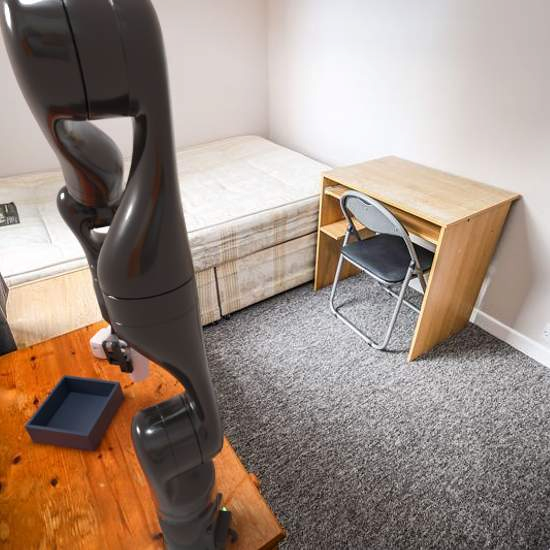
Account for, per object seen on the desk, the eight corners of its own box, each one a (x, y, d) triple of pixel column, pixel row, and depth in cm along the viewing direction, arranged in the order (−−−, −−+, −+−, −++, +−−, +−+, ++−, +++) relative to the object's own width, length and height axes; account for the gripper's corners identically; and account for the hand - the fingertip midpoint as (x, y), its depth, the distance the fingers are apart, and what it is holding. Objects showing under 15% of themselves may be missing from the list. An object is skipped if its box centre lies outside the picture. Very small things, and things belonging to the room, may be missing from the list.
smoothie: (160, 364, 82) (150, 314, 74) (149, 389, 77) (137, 337, 69) (131, 362, 82) (118, 312, 74) (118, 385, 77) (102, 334, 69)
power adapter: (118, 328, 106) (113, 312, 103) (133, 332, 105) (129, 316, 102) (91, 357, 97) (85, 340, 94) (107, 361, 96) (102, 344, 93)
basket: (124, 397, 88) (119, 382, 85) (94, 451, 77) (87, 436, 74) (70, 390, 89) (63, 374, 86) (33, 442, 78) (24, 426, 75)
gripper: (120, 320, 61) (138, 389, 70) (155, 271, 73) (167, 335, 82) (76, 315, 62) (99, 384, 71) (118, 267, 74) (133, 331, 83)
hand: (136, 358), depth 77 cm, fingers closed on smoothie, 6 cm apart
